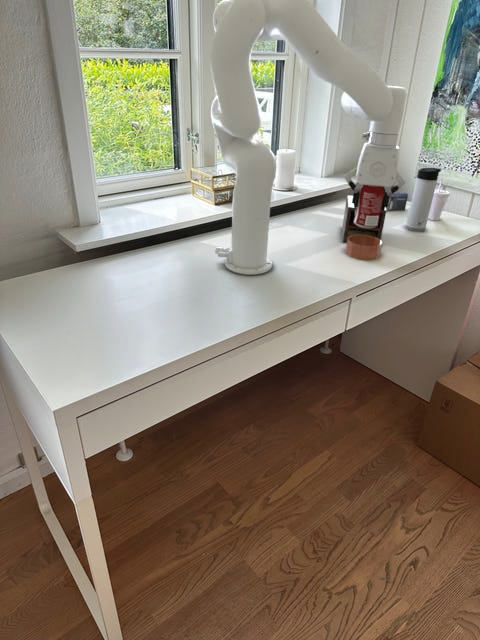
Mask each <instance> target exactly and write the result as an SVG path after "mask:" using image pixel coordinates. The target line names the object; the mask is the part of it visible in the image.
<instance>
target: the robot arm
mask: <svg viewBox="0 0 480 640" xmlns="http://www.w3.org/2000/svg"><path fill="white" fill-rule="evenodd" d="M212 25H213V30H214V31H215V32H214V35H213V38H212V41H211V42H212V43H211V47H210V52H209V53H210V55H209V64H210V72H211V77H212V81H213V86H214V91H215V94H216V96H215V97H214V99H213V101H212V102H211V103H212V104H211V109H210V114H211V115H210V118H211V123H212V127H213V131H214V133H215V136H216V140H217V143H218V147H219V151H220V153H221V156H222V159H223V162H224V164H225V166H226V167H227V168H228V170H229V171H230V172H232V174H234V175H235V182H234V187H233V192H232V209H231V210H232V212H231V246H227V247H222V246H216V247H215V250H214V251H215V252H214V253H215V255H217V257H218V258H225V261H224V266H225V267H226V269H228V270H229V271H231V272H233V273H236V274H240V275H246V276H247V275H250V276H251V275H253V276H255V275H260V274H261V275H262V274H265V273H267V272H269V271H270V270H272V268H273V261H272V259H271V258H269V257H268V244H269V229H270V228H269V227H270V215H271V201H272V193H273V192H272V191H273V186H274V182H275V177H276V172H277V159H276V156H275V154H274V152H273V151H272V149H271V148H270V147H269V146H268V145H266V144H265V143H264V142H261V141H259V140H258V139H256V137H255V135H256V134H257V133H258V132H259V130H260V128H261V125H262V111H261V107H260V103H259V99H258V95H257V92H256V87H255V83H254V79H253V73H252V65H251V59H252V58H251V57H252V53H253V49H254V46H255V44H256V43H259V42H273V41H284V43H286V44H287V45H288V46H289V47H290V49H291V50H292V51H293V52H294V53H295V55H297V57H298V58H299V59H300V60H301V61H302V62H303V63H304V64H305V66H306V67H307V68H308V69H309V70H310V71H311V73H313V75H315V76H316V77H318V79H320V80H322V81H324V82H326V83H328V84H330V85H333V86H334V87H336V88H337V89H340V90H341V91H342V92H343V93H342V94H341V100H340V103H341V107H342V109H343V111H344V112H345V113H346V114H347V115H349V116H351V117H354V118H359V119H362V120H366V121H370V123H369V130H368V131H367V132H363V133H362V135H361V139H363V140H366V142H364V144H363V146H362V148H361V151H360V154H359V157H358V162H357V166H356V167H355V168H353V169H351V170H350V171H348V172H347V173H345V174H344V180H345V181H346V183H347V184H348V186H349V187H350V189H351V190H352V191H353V193H352V196H353V199H352V203H353V204H354V208H356V207H357V204H358V199H359V190H360V188H361V187H362V185H377V186H382V187H384V189H385V195H384V199H383V204H382V210H383V211H384V210H385V207H387V206H388V202H389V198H390V196H391V195H392V194H393V193H397V191H398V190H399V189H401V188H402V187H403V186H404V185H406V180H405V179H403V177H402V176H401V175H400V173H398V166H399V159H400V147H399V146H398V141H399V136H400V131H401V126H402V122H403V118H404V112H405V109H406V103H407V100H408V99H407V98H408V90H407V88H406V87H404V86H403V87H402V86H393V85H388V84H386V82H385V81H384V80H383V78H382V77H381V75H379V73H378V72H377V71H376V70H375V69H374V67H372V66H371V65H370V63H368V62H367V61H366V60H364V59H363V58H362V57H361V56H359V55H358V54H357V53H356V52H355V51H353V50H352V49H351V48H350V47H349V46H347V45H346V44H345V43H344V42H342V40H341V39H340V38H339V37H338V35H337V34H336V33H335V31H334V30H333V29H332V28H331V27H330V25H329V24H328V23H327V21H326V20H325V19H324V18H323V16H322V15H321V14H320V13H319V11H318V9H316V8H315V6H314V5H313V3H311V1H310V0H221V1H220V2H219V3H218V4H217V5H216V7H215V9H214V11H213V15H212ZM354 176H355V182H356V183H355V182H354V181H353V180H352V177H354ZM396 181H397V182H396Z"/></svg>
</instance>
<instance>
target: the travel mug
mask: <svg viewBox="0 0 480 640" xmlns="http://www.w3.org/2000/svg"><path fill="white" fill-rule="evenodd" d="M441 172H442V168H437V167H423V168H420V169H418V172H417V175H416V179H415V185H414V188H413V193H412V197H411V201H410V206H409V211H408V215H407V220H406V223H405V229H407V230H408V231H411V232H420V233H421V232H424V231H425V230H426V229H427V224H428V220H429V219H428V216H429V212H430V208H431V204H432V200H433V196H434V192H435V189H437V188H436V187H437V183H438V178H439V175H440V173H441Z"/></svg>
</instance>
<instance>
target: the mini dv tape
mask: <svg viewBox="0 0 480 640" xmlns="http://www.w3.org/2000/svg"><path fill="white" fill-rule="evenodd" d="M408 197H409V193H407V192H394V193H393V194H392V195H391V196H390V198H389V202H388V206H387V207H386V212H391V211H394V212H395V211H405V210H406V206H407V201H408Z"/></svg>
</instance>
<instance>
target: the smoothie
mask: <svg viewBox="0 0 480 640" xmlns="http://www.w3.org/2000/svg"><path fill="white" fill-rule="evenodd" d="M443 179H444V178H440V181H439V185H438V189H437V188H435V192H434V196H433V200H432V204H431V208H430V212H429V216H428V220H431V221H439V220H440V218H441V216H442V213H443V210H444V208H445V205H446V203H447V201H448V198H449V197H450V195H451V192H449V191H447V190H444V189H442V188H441V187H442V183H443Z"/></svg>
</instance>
